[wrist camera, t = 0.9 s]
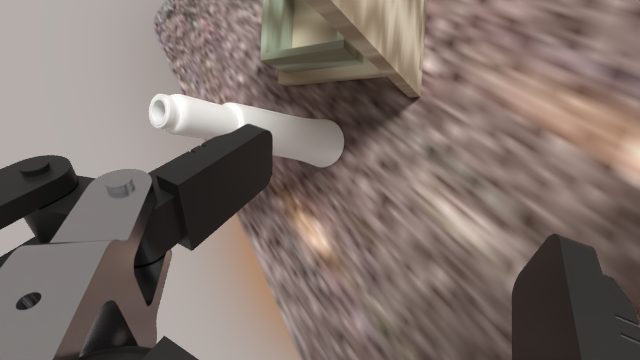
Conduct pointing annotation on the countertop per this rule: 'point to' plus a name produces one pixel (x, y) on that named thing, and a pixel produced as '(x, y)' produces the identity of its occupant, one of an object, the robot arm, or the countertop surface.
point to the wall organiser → (345, 41)
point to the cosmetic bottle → (287, 131)
